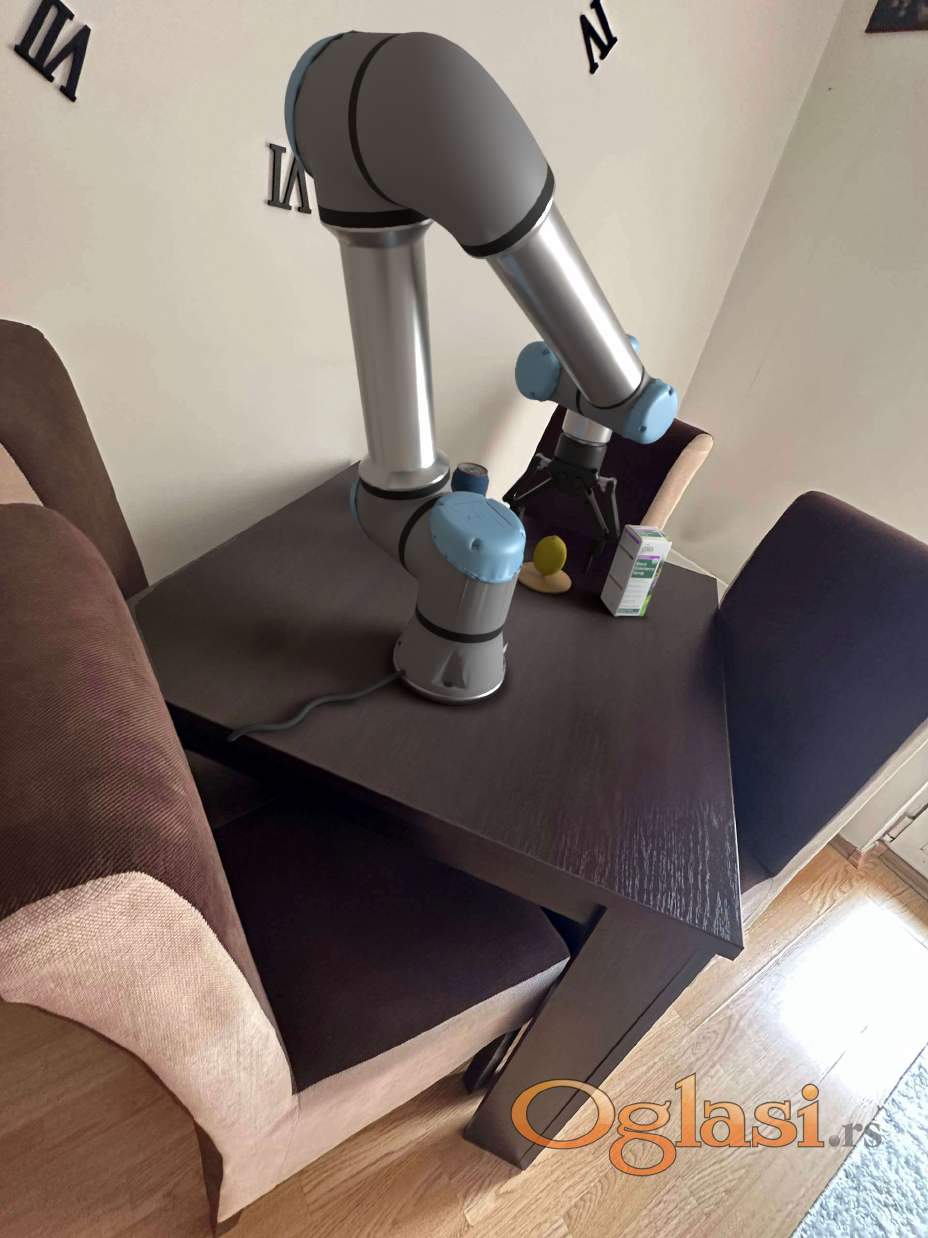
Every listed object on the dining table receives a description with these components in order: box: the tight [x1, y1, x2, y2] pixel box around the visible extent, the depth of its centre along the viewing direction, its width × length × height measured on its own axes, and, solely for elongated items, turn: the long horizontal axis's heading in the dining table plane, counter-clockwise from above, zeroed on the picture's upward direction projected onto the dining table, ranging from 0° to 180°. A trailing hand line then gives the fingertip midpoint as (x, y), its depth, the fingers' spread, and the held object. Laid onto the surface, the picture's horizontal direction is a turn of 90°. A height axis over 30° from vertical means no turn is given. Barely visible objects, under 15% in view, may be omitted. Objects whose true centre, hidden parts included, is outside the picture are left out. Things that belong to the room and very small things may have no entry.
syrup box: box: [600, 524, 673, 617], centre depth 107 cm, size 6×6×14 cm
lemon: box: [532, 535, 567, 577], centre depth 112 cm, size 6×6×8 cm
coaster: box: [517, 561, 572, 595], centre depth 115 cm, size 10×10×1 cm
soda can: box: [450, 461, 490, 498], centre depth 122 cm, size 7×7×12 cm
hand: (547, 556), depth 112 cm, fingers open, 13 cm apart
